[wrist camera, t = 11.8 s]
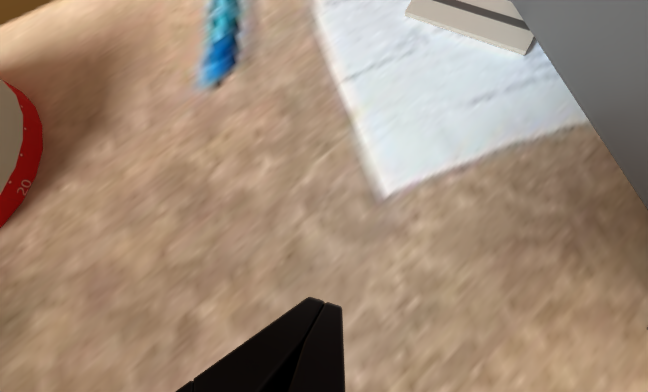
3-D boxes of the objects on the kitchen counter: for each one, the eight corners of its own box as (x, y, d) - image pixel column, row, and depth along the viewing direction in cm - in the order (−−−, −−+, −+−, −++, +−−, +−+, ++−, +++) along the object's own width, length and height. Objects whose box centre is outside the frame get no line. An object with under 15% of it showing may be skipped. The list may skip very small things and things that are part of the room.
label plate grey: (404, 15, 27) (405, 10, 26) (437, -40, 28) (438, -46, 27) (524, 55, 24) (526, 50, 24) (555, -7, 25) (558, -13, 25)
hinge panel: (726, 270, 18) (951, 236, 11) (688, 283, 19) (886, 259, 11) (531, -13, 25) (591, -158, 17) (503, -2, 25) (551, -142, 17)
